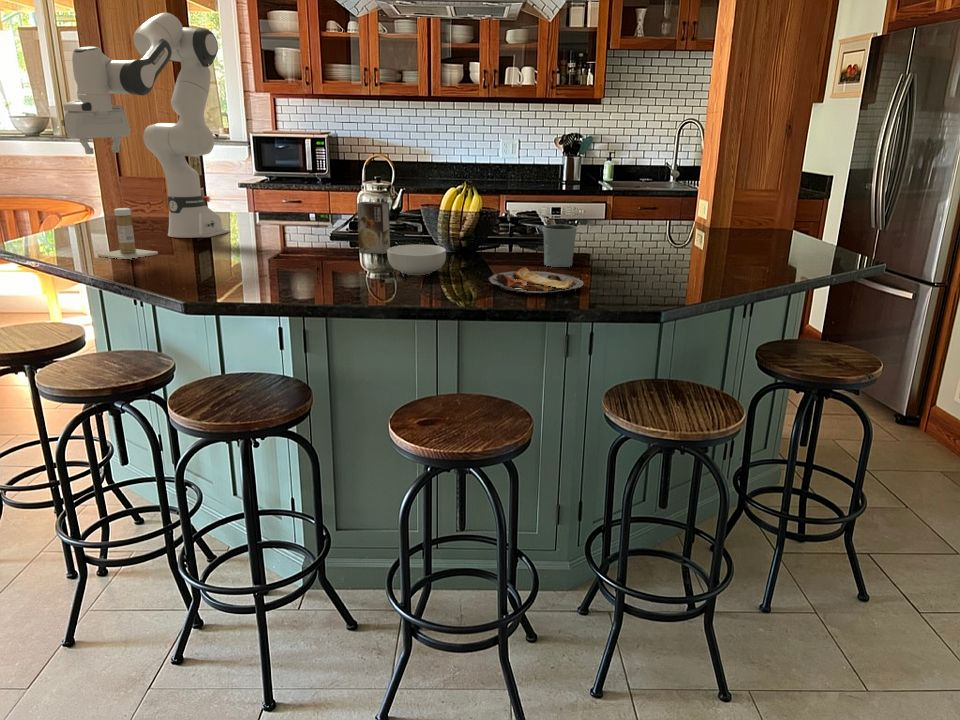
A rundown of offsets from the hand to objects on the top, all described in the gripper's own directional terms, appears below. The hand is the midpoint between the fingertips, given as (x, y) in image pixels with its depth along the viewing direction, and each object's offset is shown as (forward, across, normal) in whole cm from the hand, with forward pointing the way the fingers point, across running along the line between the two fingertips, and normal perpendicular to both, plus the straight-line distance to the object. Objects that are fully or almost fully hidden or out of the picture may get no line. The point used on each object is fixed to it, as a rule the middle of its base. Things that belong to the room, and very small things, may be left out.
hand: (103, 153), depth 220 cm
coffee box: (+31, -39, +71) cm, 87 cm away
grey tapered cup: (+31, -46, +132) cm, 144 cm away
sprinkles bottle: (+29, +4, +9) cm, 31 cm away
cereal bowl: (+30, -14, +100) cm, 105 cm away
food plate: (+30, -14, +136) cm, 140 cm away
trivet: (+30, +4, +8) cm, 32 cm away
